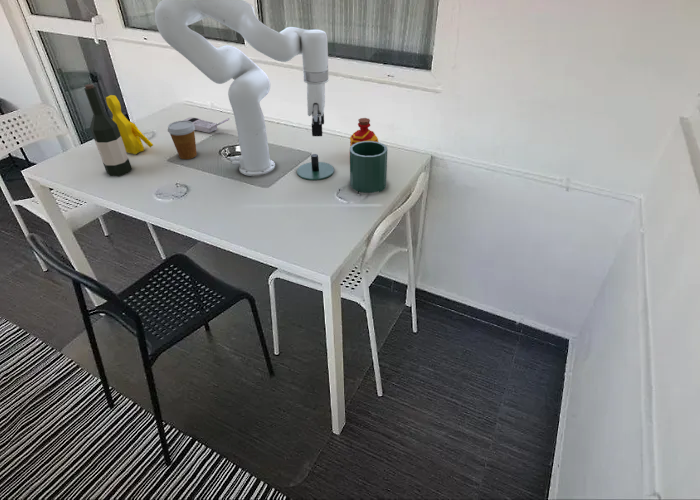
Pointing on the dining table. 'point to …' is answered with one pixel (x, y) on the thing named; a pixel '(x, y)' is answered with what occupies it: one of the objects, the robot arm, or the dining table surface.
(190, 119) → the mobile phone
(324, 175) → the green disc with handle
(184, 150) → the disposable coffee cup
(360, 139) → the potion bottle
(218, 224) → the dining table surface
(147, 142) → the figure statuette
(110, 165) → the wine bottle
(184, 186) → the dining table surface
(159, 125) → the dining table surface
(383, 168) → the green tube
